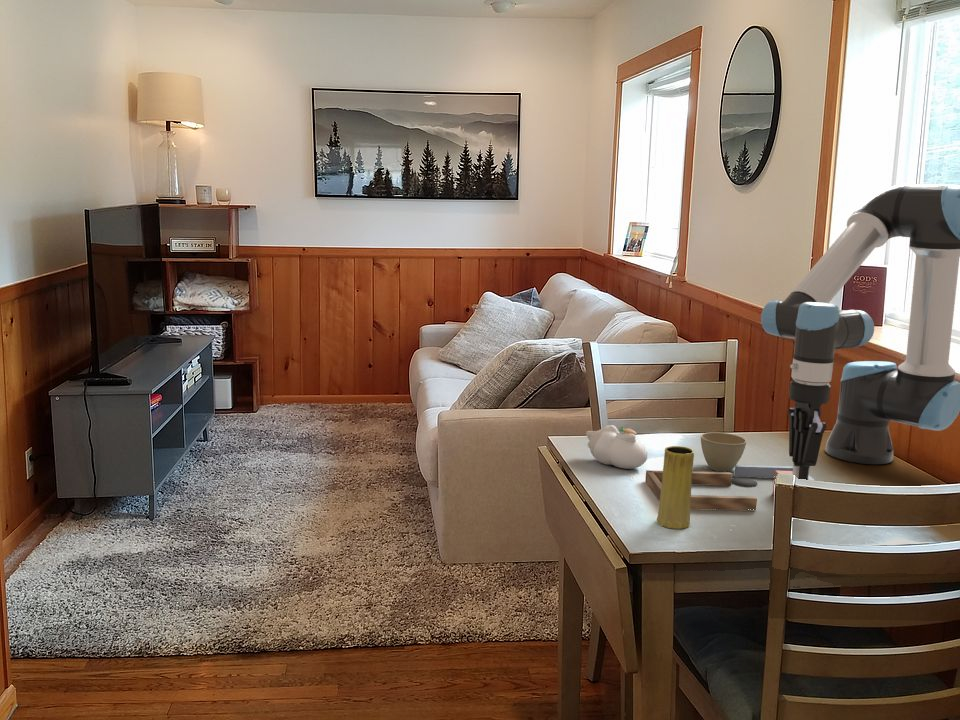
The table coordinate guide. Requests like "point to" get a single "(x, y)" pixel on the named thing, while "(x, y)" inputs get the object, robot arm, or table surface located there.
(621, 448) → the white rounded lumpy piece
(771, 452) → the table surface
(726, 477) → the wooden frame
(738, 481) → the hole marker
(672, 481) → the vase
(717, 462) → the beige bowl
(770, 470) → the bay
